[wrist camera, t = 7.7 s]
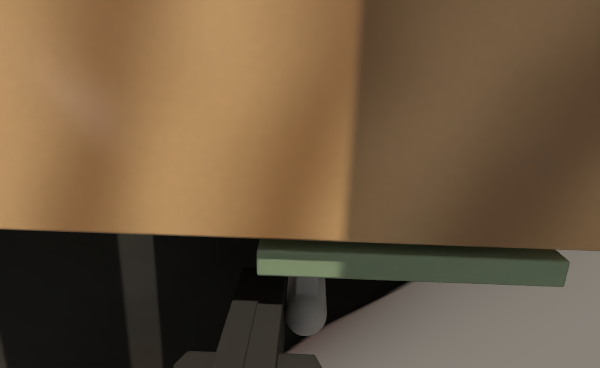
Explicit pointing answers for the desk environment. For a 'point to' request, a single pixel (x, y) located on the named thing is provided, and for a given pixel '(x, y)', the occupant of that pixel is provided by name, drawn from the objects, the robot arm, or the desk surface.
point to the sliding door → (394, 269)
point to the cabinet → (304, 120)
